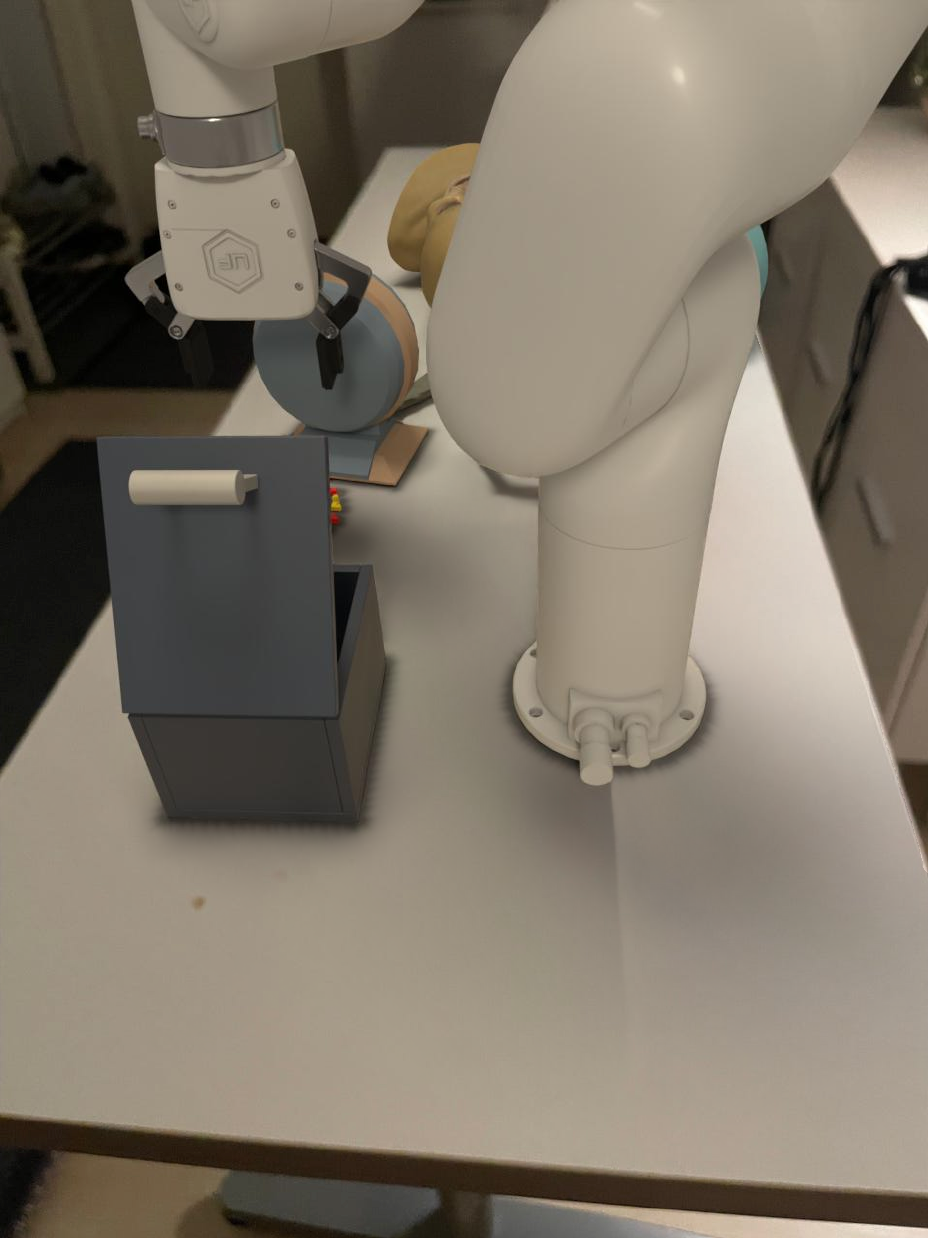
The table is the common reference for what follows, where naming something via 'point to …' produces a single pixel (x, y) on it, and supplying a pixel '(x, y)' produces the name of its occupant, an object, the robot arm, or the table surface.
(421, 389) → the stone
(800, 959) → the table surface
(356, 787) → the open box
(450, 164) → the head sculpture
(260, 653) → the box lid
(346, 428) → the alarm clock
